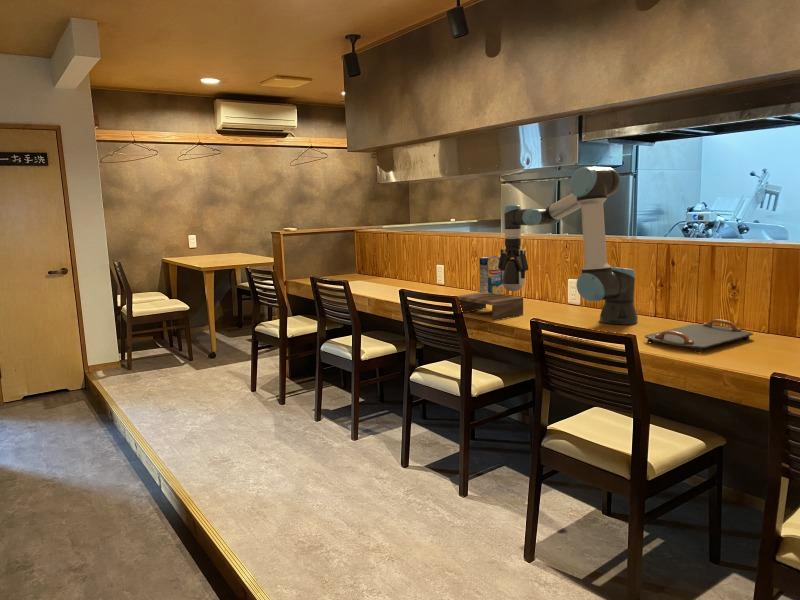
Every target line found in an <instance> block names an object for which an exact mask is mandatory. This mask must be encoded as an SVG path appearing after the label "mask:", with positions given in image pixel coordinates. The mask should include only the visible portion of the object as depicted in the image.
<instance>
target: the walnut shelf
mask: <svg viewBox="0 0 800 600" xmlns="http://www.w3.org/2000/svg"><path fill="white" fill-rule="evenodd" d="M456 296H457V297H458V298H459V302H460V305H461V308H462V311H463V313H468V312H467V311H469V312H473V311H472V310H475V311H478V310H477V309H480V310H484V309H483V308H486V309H487V305H488V306H491V320H492V319H493V320H492V321H498V320H497V319H500V320H503V319H502V318H505V319H508V318H507V317H510V318H514V317H513V316H515V317H519V316H518V315H520V316H523V315H524V297H521V296H513V295H507V294H503V295H501V294H494V293H487V292H480V291H479V292H474V293H467V294H461V295H460V294H459V295H456Z"/></svg>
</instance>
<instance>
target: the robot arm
mask: <svg viewBox="0 0 800 600" xmlns="http://www.w3.org/2000/svg"><path fill="white" fill-rule="evenodd" d="M620 184H621V177H620V174H619V173H618V172H617V171H616V170H615V169H614V168H612V167H609V166H590V165H589V166H582V167H580V168H577V169H575V171H574V172H573V174H572V176H571V178H570V181H569V189H570V192H571V193H570V194H568V195H567V196H565V197H563V198H561V199H559V200H558V201H555V202H554V203H552V204H551V205H548V206H546V207H544V208H542V207H541V208H524V209H523V208H522V207H521V205H519V204H515V205H514V204H513V205H509V204H508V205H505V206H504V213H503V215H504V219H503V220H504V246H505V248H500V254H499V255H500V256H499V257H500V260H499V265H498V269H501V274H502V275H501V276H502V279H503V273H504V269H505V266H506V264H507V262H508V261H509V260H510V259H515V260H516V262H517V265H518V267H519V269H520V271H519V286H521V285H523V286H525V278H526V272H527V271H529V266H528V264H529V263H528V261H527V256H526V249H521V246H522V242H521V241H522V240H521V235H522V234H521V233H522V232H521V229H522V228H521V226H529V227H530V226H540V225H541V226H542V225H555V224H558V223H559V222H560V220H561V219H562V218H565V216H568V215H570V214H572V213H574V212H576V211H578V210H579V209H580V212H581V225H582V226H581V227H582V238H583V254H584V265H583V267H582V268H581V270H580V271H581V274H580V275H579V276H578V278H577V279H576V290H577V293H578V294H579V295H580V296H581V297H582V298H583V300H585V301H588V302H600V301H603V300H604V303H603V306H602V309H601V312H600V315H599V322H601V323H604V324H610V325H618V324H623V326H625V325H635V324H637V323H638V322H639V321H638V320H639V319H638V318H639V317H638V313H637V311H636V307H635V283H636V282H635V281H636V277H635V270H634V269H632V268H626V267H616V266H615V267H614V266H611V265H610V264H609V263H608V257H607V256H608V254H607V244H606V243H607V242H606V229H605V212H604V203H605V202H606V201H607V199H608V197H610V196H612V195H614V194H616V192H617V190H619V187H620ZM502 284H503V283H502Z"/></svg>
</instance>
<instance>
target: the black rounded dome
mask: <svg viewBox="0 0 800 600" xmlns="http://www.w3.org/2000/svg"><path fill="white" fill-rule="evenodd" d="M519 271H520V269H519V267H518V265H517V262H516V260H515V259H514V258H511V259H510V260H509V261H508V262H507V264H506V266H505V269H504V273H503V279H502V283H503V289H504V290H506V291H507V292H508V291H511V292H517V291H520V290H521V289H522V288H523V286H524V285H521V286H519Z"/></svg>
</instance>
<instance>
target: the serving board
mask: <svg viewBox="0 0 800 600" xmlns="http://www.w3.org/2000/svg"><path fill="white" fill-rule="evenodd" d="M714 323H716V324H717V323H720V324H725V325H728V326H730V327H728V326H720V325H713V324H714ZM750 336H754V333H753V332H751V331H746V330H744V329H742V328H739V327H738V326H737V325H736V324H735V323H734V322H732V321H729V320H727V319H719V318H717V319H711V320H709V321H708V322H705V323H702V324H701V323H692V324H686V325H684V326H679V327H675V328H671V329H670V328H669V329H666V330H663V331H658V332H654V333H650V334H646V335H644V338H645V339H647V343H648V342H653V343H654V342H657V343H662V344H665V345H673V346H678V347H686V348H691V349H693V348H694V349H695V350H694V352H695V351H696V352H703V350H702V349H707V348H711V347H715V346H718V345H722V344H725V343H729V342H734V341H736V340H741V339H743V340H747V339H748V340H750ZM696 352H695V353H696Z"/></svg>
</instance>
